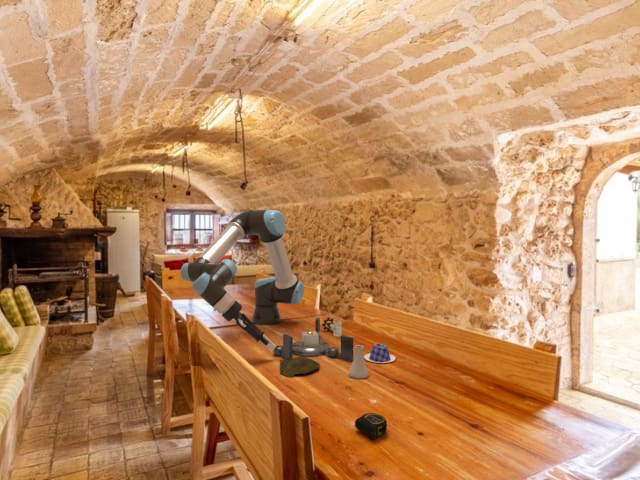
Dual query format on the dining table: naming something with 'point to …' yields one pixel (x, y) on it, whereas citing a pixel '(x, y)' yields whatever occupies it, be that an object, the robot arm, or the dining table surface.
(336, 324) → the valve
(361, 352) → the flask
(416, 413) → the dining table surface
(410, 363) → the dining table surface
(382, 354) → the pudding
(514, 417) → the dining table surface
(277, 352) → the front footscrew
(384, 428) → the tape measure
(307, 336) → the tribrach
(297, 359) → the pottery fragment
